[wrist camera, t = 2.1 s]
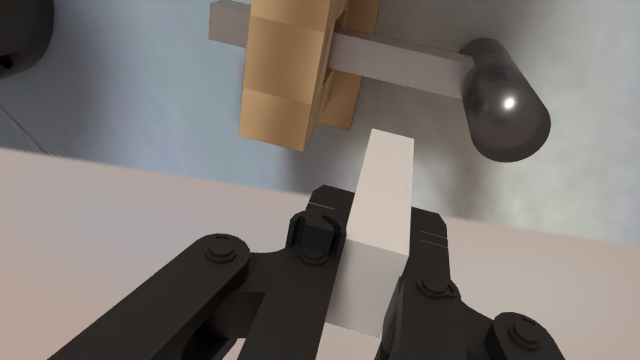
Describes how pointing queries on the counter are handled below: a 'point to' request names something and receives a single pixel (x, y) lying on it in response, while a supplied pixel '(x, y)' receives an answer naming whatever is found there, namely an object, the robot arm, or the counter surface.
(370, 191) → the robot arm
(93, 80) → the counter surface
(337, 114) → the eye block
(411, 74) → the hook rod
